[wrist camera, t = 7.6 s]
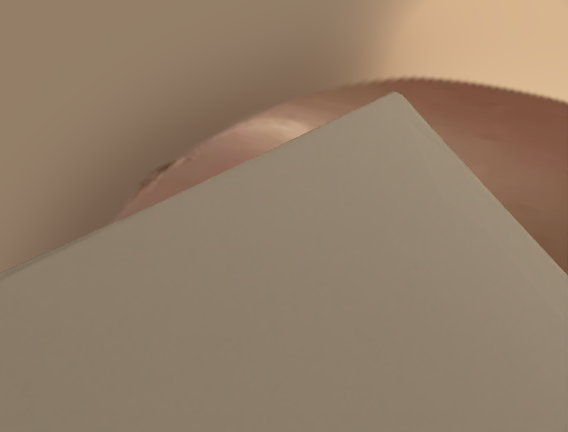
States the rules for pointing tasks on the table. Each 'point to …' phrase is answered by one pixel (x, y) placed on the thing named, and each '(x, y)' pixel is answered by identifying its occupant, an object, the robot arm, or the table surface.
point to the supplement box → (297, 301)
